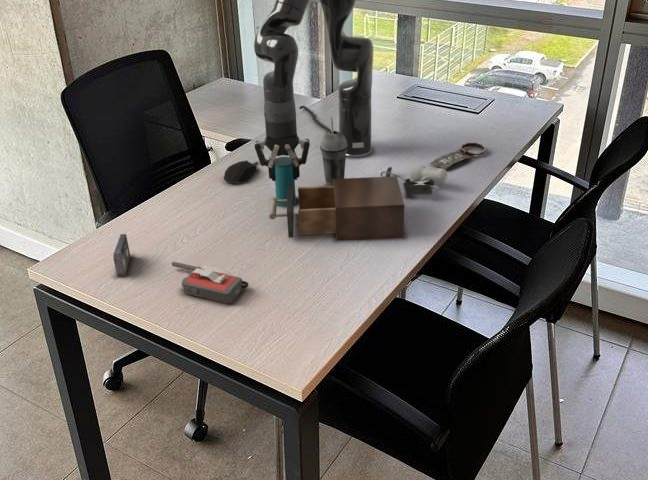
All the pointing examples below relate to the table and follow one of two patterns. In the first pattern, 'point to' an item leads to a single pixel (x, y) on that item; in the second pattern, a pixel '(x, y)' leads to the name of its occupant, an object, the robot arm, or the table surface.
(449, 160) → the keychain
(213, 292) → the walkie-talkie
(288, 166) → the tin
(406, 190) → the clip-on lamp
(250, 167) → the gaming mouse
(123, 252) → the mini dv tape
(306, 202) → the drawer
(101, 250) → the table surface
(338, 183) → the cabinet
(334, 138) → the beverage cup
